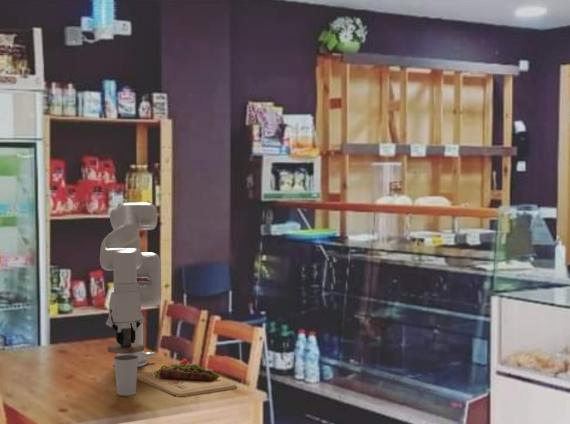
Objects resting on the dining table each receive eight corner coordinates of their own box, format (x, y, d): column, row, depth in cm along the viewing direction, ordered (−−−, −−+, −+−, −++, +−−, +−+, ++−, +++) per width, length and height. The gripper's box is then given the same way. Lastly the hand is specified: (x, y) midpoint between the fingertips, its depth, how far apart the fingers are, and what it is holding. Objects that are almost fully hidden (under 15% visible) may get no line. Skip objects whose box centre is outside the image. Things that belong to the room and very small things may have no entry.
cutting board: (133, 378, 330) (133, 357, 330) (191, 370, 343) (191, 350, 342) (177, 399, 301) (177, 376, 300) (239, 389, 314) (239, 367, 313)
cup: (142, 391, 309) (142, 355, 308) (131, 396, 302) (130, 360, 301) (121, 389, 312) (121, 354, 311) (109, 394, 304) (109, 359, 304)
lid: (135, 345, 314) (135, 324, 314) (150, 350, 304) (149, 329, 303) (102, 348, 308) (101, 328, 307) (115, 354, 297) (115, 333, 297)
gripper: (143, 285, 312) (144, 338, 313) (97, 288, 303) (98, 343, 304) (152, 287, 306) (153, 342, 307) (105, 291, 297) (106, 347, 298)
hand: (125, 342), depth 306 cm, fingers closed on lid, 3 cm apart
